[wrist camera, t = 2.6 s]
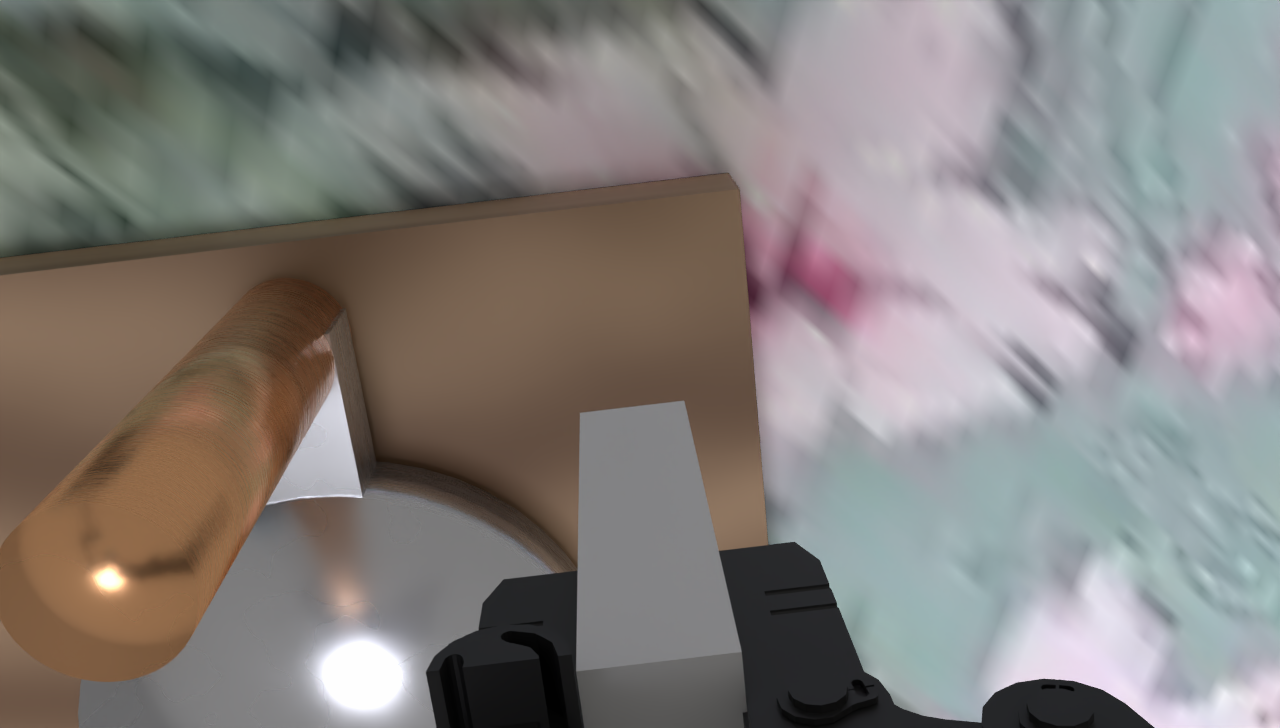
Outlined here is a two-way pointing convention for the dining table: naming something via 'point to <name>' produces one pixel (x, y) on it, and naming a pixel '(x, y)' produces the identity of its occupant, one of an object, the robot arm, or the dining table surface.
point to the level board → (412, 349)
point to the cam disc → (258, 544)
